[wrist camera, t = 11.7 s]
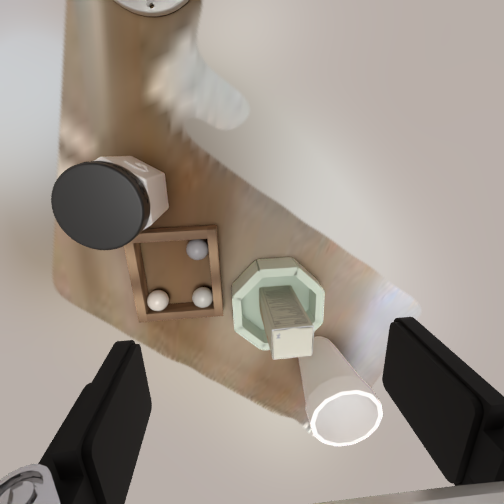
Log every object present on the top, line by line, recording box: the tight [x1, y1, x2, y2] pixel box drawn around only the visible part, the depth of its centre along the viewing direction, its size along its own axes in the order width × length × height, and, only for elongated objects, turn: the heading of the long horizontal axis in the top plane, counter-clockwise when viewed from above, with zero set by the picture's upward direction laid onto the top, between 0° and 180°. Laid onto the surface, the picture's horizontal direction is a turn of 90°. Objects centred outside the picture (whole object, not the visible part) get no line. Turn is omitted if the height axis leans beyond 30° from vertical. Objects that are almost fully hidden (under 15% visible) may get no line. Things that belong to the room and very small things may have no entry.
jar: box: [51, 156, 169, 250], centre depth 32 cm, size 9×8×12 cm
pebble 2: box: [186, 239, 209, 260], centre depth 39 cm, size 3×3×3 cm
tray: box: [124, 225, 223, 322], centre depth 40 cm, size 13×12×2 cm
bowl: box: [232, 257, 325, 350], centre depth 42 cm, size 13×13×4 cm
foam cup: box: [298, 336, 383, 447], centre depth 42 cm, size 10×9×13 cm
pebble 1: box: [147, 290, 169, 311], centre depth 41 cm, size 3×3×3 cm
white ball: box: [192, 287, 213, 308], centre depth 41 cm, size 3×3×3 cm
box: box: [259, 285, 314, 359], centre depth 38 cm, size 5×4×11 cm
